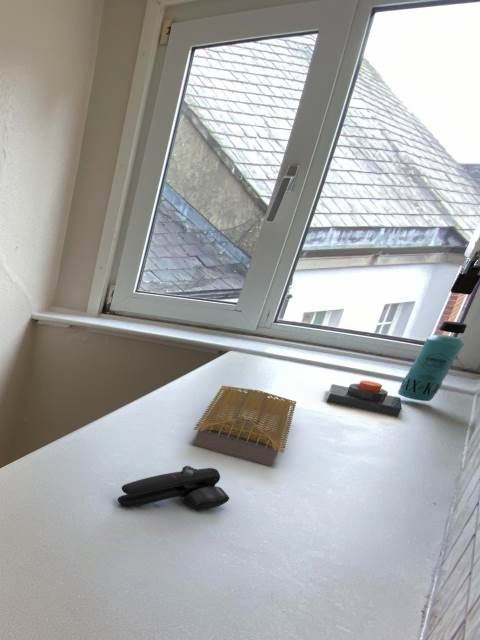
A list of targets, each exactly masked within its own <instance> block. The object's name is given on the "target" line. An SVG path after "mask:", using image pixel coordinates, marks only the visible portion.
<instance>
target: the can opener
mask: <svg viewBox="0 0 480 640" xmlns="http://www.w3.org/2000/svg"><path fill="white" fill-rule="evenodd" d="M220 480H221V474H220V472H219V470H218V469H216V468H213V467H206V468H198V469H197V468H194V467H192V466H190V465H184V466H183V467H182V468H181V470H180V471H175V472H174V471H173V472H167V473H163V474H157V475H154V476H148V477H145V478H141V479H137V480H134V481H130V482H128V483H125V484H123V485H122V486H121V491H122V492H123V493H124V494H123V495H120V496H119V497H118V498H117V502H118V503H119V505H121V506H123V507H137V506H144V505H148V504H153V503H156V502H161V501H165V500H168V499H169V500H170V499H173V498H183V499H182V501H183V502H184V503H186V505H189V506H190V507H192V508H193V509H195V510H200V511H204V510H210V509H216V508H218V507H220V506H222V505H224V504H226V503H227V502H229V501H230V496H229V495H228V494H227V493H226V492H225V490H224V489H223V488H222V487H220V486H217V484H218V483H219V481H220Z"/></svg>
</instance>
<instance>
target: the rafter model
mask: <svg viewBox="0 0 480 640" xmlns="http://www.w3.org/2000/svg"><path fill="white" fill-rule="evenodd" d="M296 406H297V401H296V400H293V399H289V398H286V397H282V396H279V395H276V394H272V393H269V392H266V391H262V390H259V389H252V388H245V387H244V388H243V387H238V386H237V387H235V386H228V385H221V387H220V388H219V390H218V391H217V393H216V394H215V396H214V398H213V399H212V400H211V402H210V404H209V405H208V407H207V408H206V409H205V411H204V412H203V414H202V416H201V417H200V419H198V421H197V423H196V424H195V426H194V427H193V429H192V430H193V431H194V430H195V431H198V432H197V434H196V437H195V440H194V443H193V446H197V447H199V448H203V449H207V450H211V451H215V452H217V453H220V454H221V453H222V454H225V455H229V456H232V457H237V458H239V459H244V460H247V461H250V462H254V463H258V464H261V465H265V466H269V467H272V465H273V463H274V460H275V458H276V455H277V453H278V451H279V452H280V453H281V454H284V453H285V449H286V446H287V441H288V437H289V433H290V430H291V425H292V422H293V417H294V414H295V410H296Z"/></svg>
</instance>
